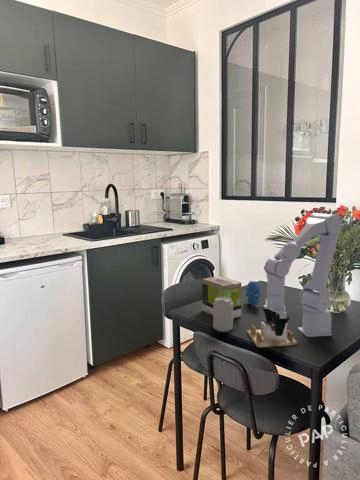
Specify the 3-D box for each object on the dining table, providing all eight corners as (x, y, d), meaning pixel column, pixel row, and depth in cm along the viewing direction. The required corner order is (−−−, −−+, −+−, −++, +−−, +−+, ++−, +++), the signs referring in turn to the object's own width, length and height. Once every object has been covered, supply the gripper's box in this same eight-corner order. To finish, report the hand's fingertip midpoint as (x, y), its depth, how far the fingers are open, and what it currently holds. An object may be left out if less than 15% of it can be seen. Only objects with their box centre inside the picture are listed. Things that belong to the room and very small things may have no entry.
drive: (282, 336, 126) (283, 320, 125) (286, 341, 123) (287, 324, 122) (260, 338, 125) (261, 321, 124) (264, 342, 122) (264, 325, 121)
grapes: (267, 309, 157) (268, 283, 155) (254, 311, 155) (254, 284, 153) (255, 301, 168) (255, 276, 166) (242, 302, 166) (242, 277, 164)
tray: (283, 330, 134) (283, 321, 133) (297, 344, 122) (297, 335, 122) (247, 332, 132) (247, 323, 132) (257, 347, 121) (257, 337, 120)
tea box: (242, 316, 149) (242, 282, 146) (223, 321, 144) (223, 286, 141) (219, 306, 161) (219, 274, 159) (201, 310, 156) (201, 278, 154)
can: (209, 328, 136) (209, 298, 135) (221, 323, 142) (221, 294, 140) (224, 334, 131) (224, 303, 129) (236, 328, 136) (237, 298, 135)
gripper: (257, 287, 128) (256, 323, 130) (272, 300, 114) (271, 340, 116) (276, 286, 129) (275, 322, 131) (293, 299, 115) (291, 339, 117)
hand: (274, 330), depth 124 cm, fingers open, 7 cm apart
